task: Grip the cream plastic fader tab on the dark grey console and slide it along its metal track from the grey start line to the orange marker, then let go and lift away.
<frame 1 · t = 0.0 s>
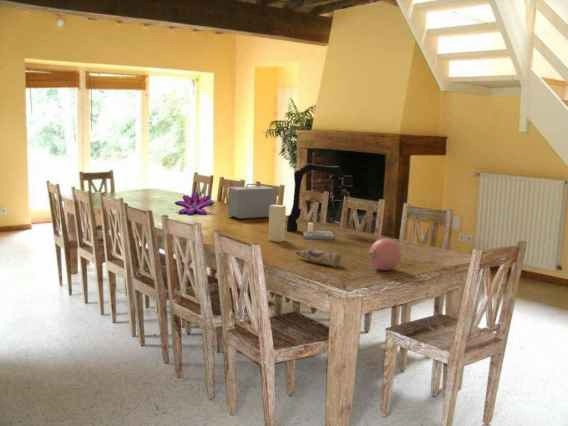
hand: (335, 209, 384), 15 cm above the table, tool pointing down, fingers open, 9 cm apart
decorative bottle: (318, 262, 299), on the table
console: (318, 236, 367), on the table
decorative flower: (194, 213, 447), on the table
vintage electronic device: (251, 217, 434), on the table
fader tab: (310, 228, 366), point 5 cm above the table, slide at -5.0 cm
pink round piece: (380, 270, 286), on the table
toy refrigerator: (276, 240, 352), on the table
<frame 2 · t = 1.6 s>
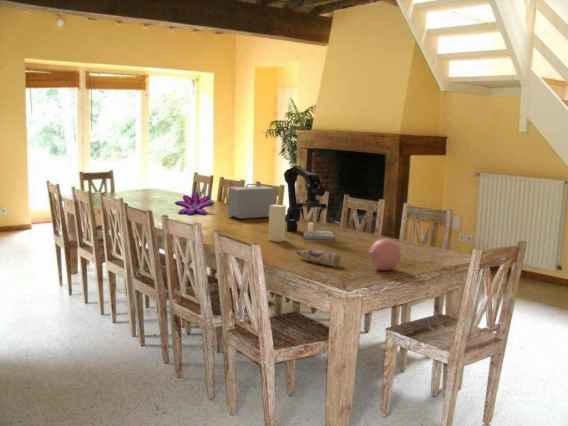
hand: (310, 219, 366), 11 cm above the table, tool pointing down, fingers open, 9 cm apart
nothing on the table moved.
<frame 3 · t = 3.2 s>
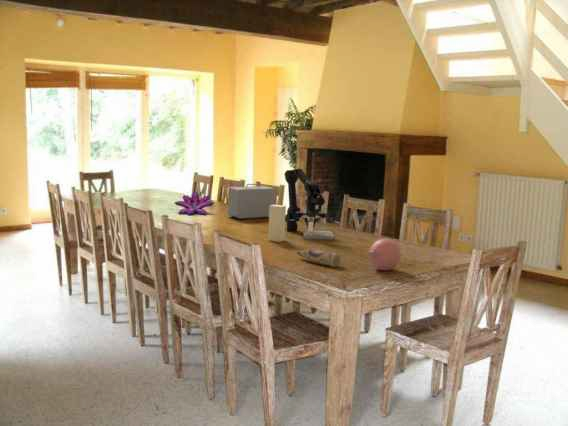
hand: (310, 228, 366), 5 cm above the table, tool pointing down, fingers closed on fader tab, 3 cm apart
fader tab: (310, 228, 366), point 5 cm above the table, slide at -5.0 cm, touching gripper
everything else where it was.
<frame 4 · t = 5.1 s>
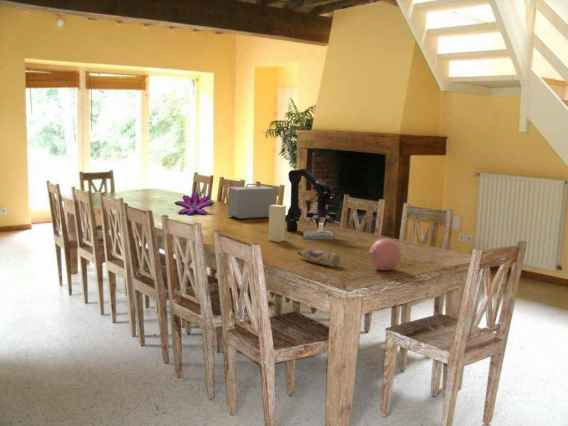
hand: (320, 228, 367), 5 cm above the table, tool pointing down, fingers closed on fader tab, 3 cm apart
fader tab: (320, 228, 367), point 5 cm above the table, slide at 1.5 cm, touching gripper
everything else where it was.
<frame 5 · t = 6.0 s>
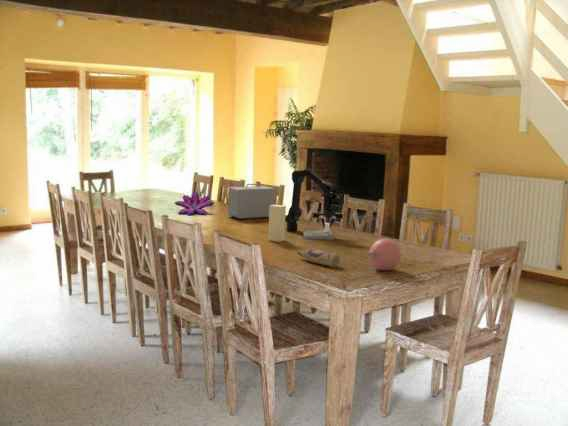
hand: (326, 228, 367), 5 cm above the table, tool pointing down, fingers closed on fader tab, 3 cm apart
fader tab: (326, 228, 367), point 5 cm above the table, slide at 5.3 cm, touching gripper
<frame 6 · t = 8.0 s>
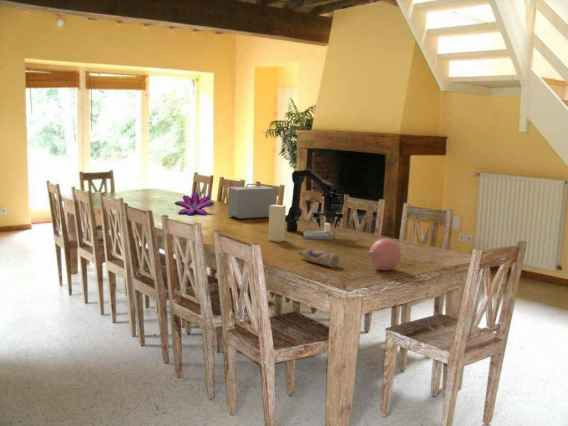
hand: (327, 228, 367), 5 cm above the table, tool pointing down, fingers open, 9 cm apart
fader tab: (327, 228, 367), point 5 cm above the table, slide at 5.4 cm
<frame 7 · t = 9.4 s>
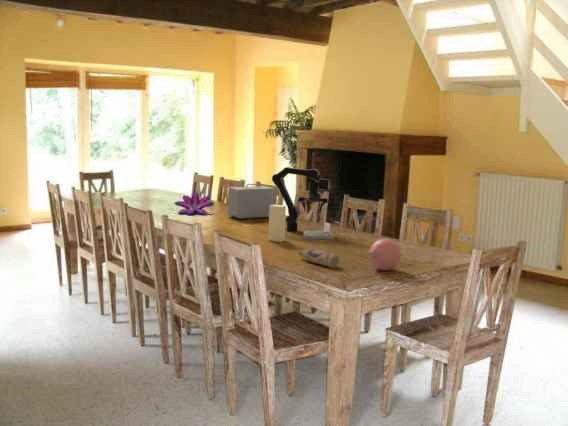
hand: (312, 212, 379), 13 cm above the table, tool pointing down, fingers open, 9 cm apart
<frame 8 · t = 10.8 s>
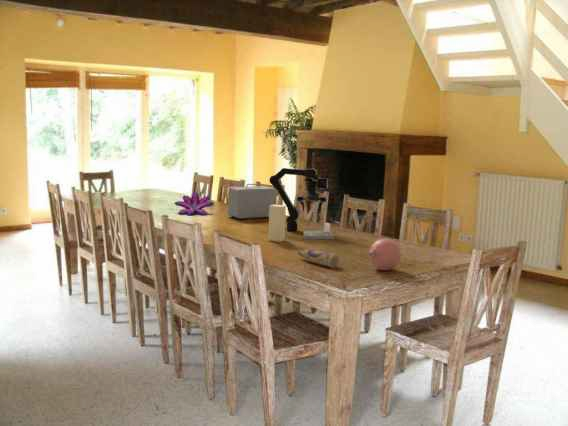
hand: (310, 212, 381), 13 cm above the table, tool pointing down, fingers open, 9 cm apart
at the end: fader tab slide at 5.4 cm; the gripper is holding nothing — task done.
